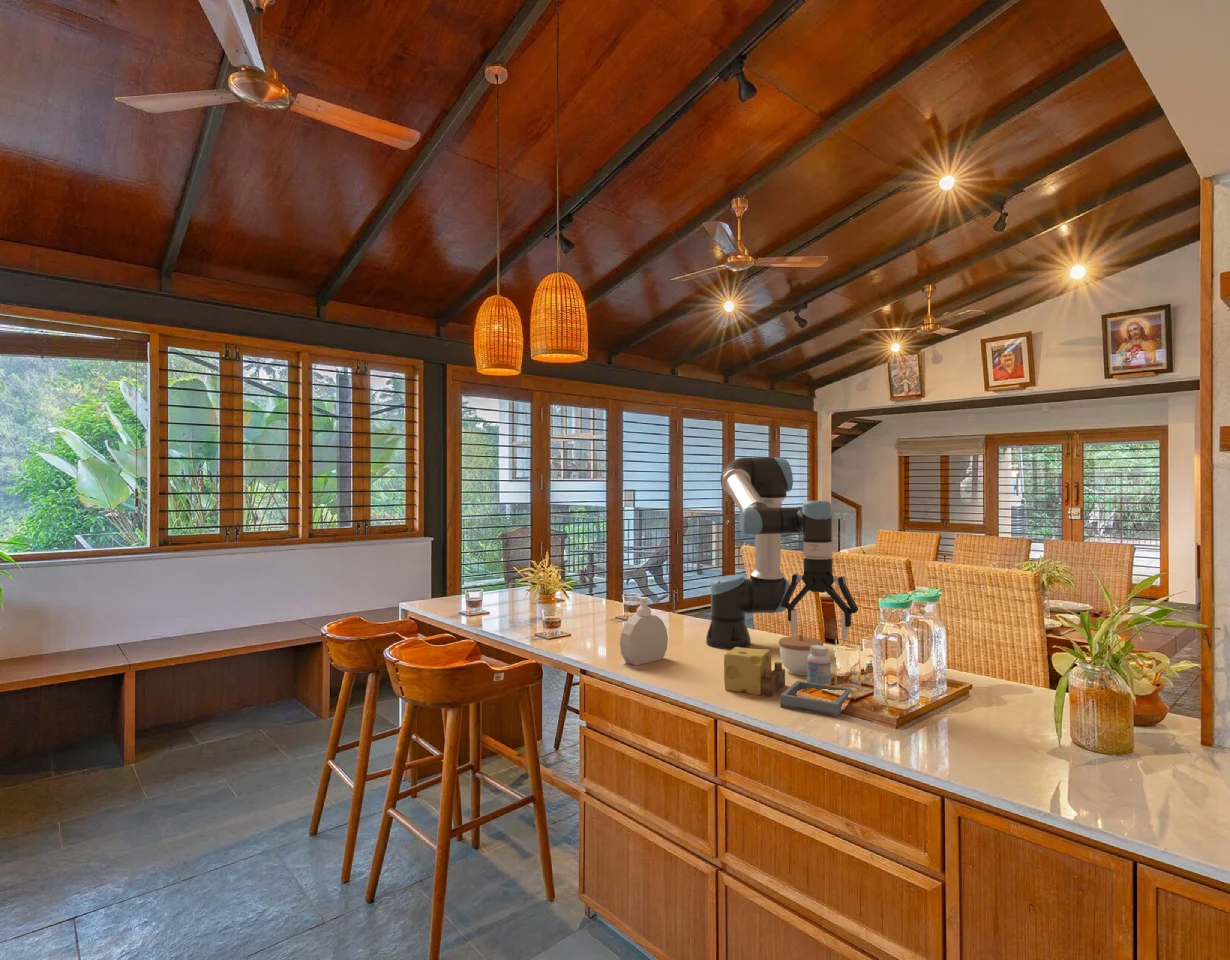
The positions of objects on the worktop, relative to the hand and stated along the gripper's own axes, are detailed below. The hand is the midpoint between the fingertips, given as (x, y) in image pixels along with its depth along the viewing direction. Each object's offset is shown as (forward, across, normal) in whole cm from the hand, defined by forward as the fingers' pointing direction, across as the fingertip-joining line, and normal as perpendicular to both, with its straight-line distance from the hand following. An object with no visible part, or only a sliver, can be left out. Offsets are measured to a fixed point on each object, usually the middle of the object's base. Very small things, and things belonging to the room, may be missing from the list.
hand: (819, 636), depth 181 cm
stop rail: (+14, -10, -8) cm, 19 cm away
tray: (+14, +3, -13) cm, 19 cm away
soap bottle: (+14, -55, 0) cm, 57 cm away
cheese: (+14, -17, -9) cm, 24 cm away
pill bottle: (+14, 0, 0) cm, 14 cm away
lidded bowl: (+14, -9, +13) cm, 22 cm away
